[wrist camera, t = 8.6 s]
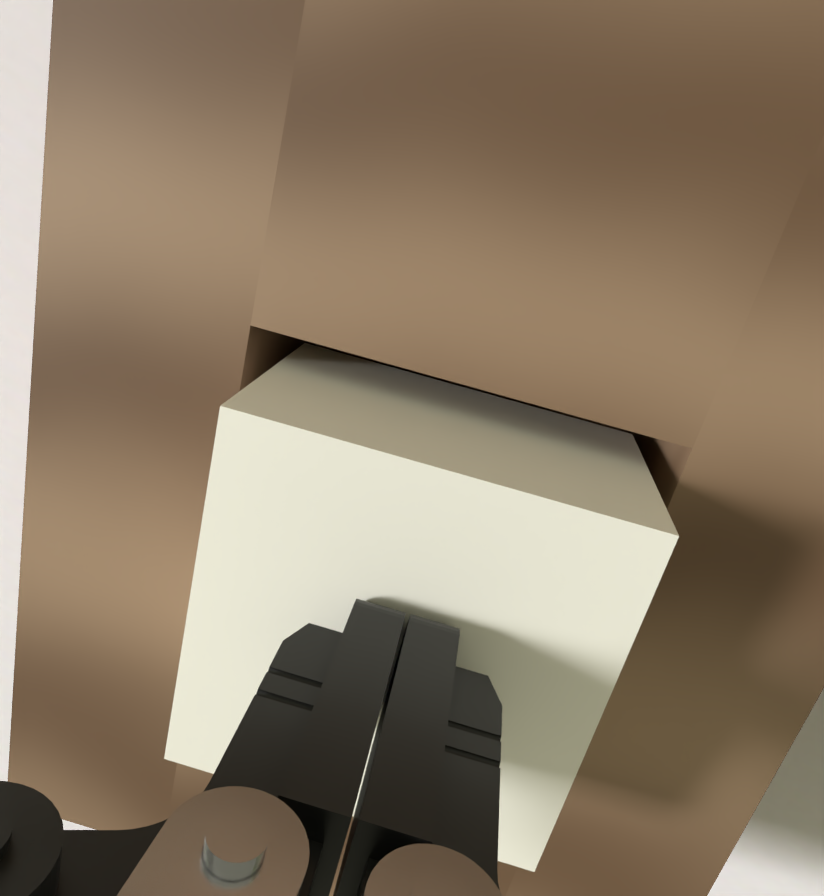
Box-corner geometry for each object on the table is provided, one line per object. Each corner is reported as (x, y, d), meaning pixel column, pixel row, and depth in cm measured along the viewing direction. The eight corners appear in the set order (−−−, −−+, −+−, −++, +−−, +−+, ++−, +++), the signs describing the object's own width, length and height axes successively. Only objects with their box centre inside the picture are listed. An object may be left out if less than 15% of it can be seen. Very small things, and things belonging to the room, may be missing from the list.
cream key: (304, 343, 13) (219, 405, 9) (632, 434, 13) (679, 535, 9) (250, 618, 15) (163, 759, 12) (530, 701, 15) (534, 871, 11)
